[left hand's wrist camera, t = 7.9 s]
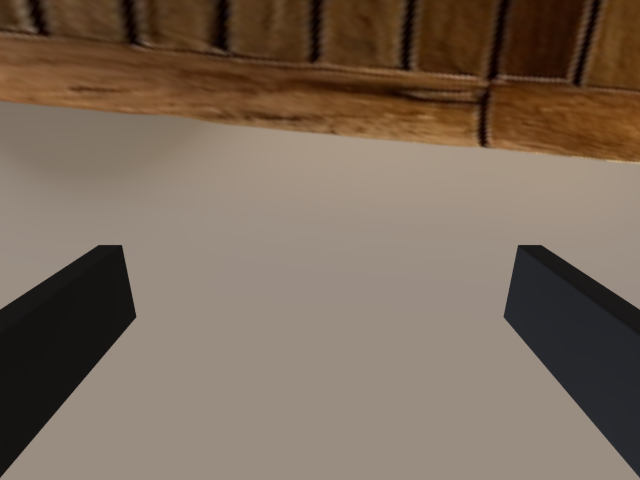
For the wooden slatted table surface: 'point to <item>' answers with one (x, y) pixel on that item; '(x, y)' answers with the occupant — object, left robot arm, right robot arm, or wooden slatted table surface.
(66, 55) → the wooden slatted table surface
